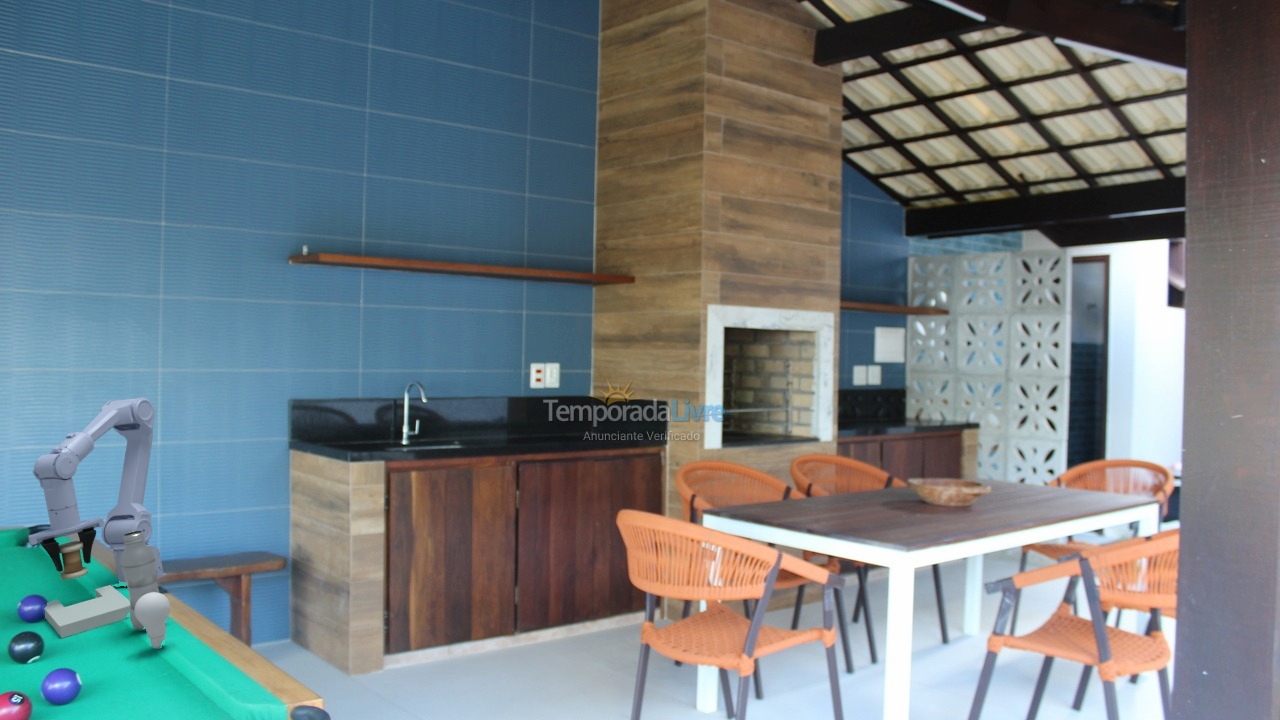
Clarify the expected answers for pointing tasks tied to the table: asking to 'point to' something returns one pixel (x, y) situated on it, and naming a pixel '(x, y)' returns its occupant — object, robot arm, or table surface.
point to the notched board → (88, 612)
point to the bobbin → (72, 560)
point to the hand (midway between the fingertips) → (73, 566)
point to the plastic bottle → (138, 570)
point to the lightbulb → (153, 616)
